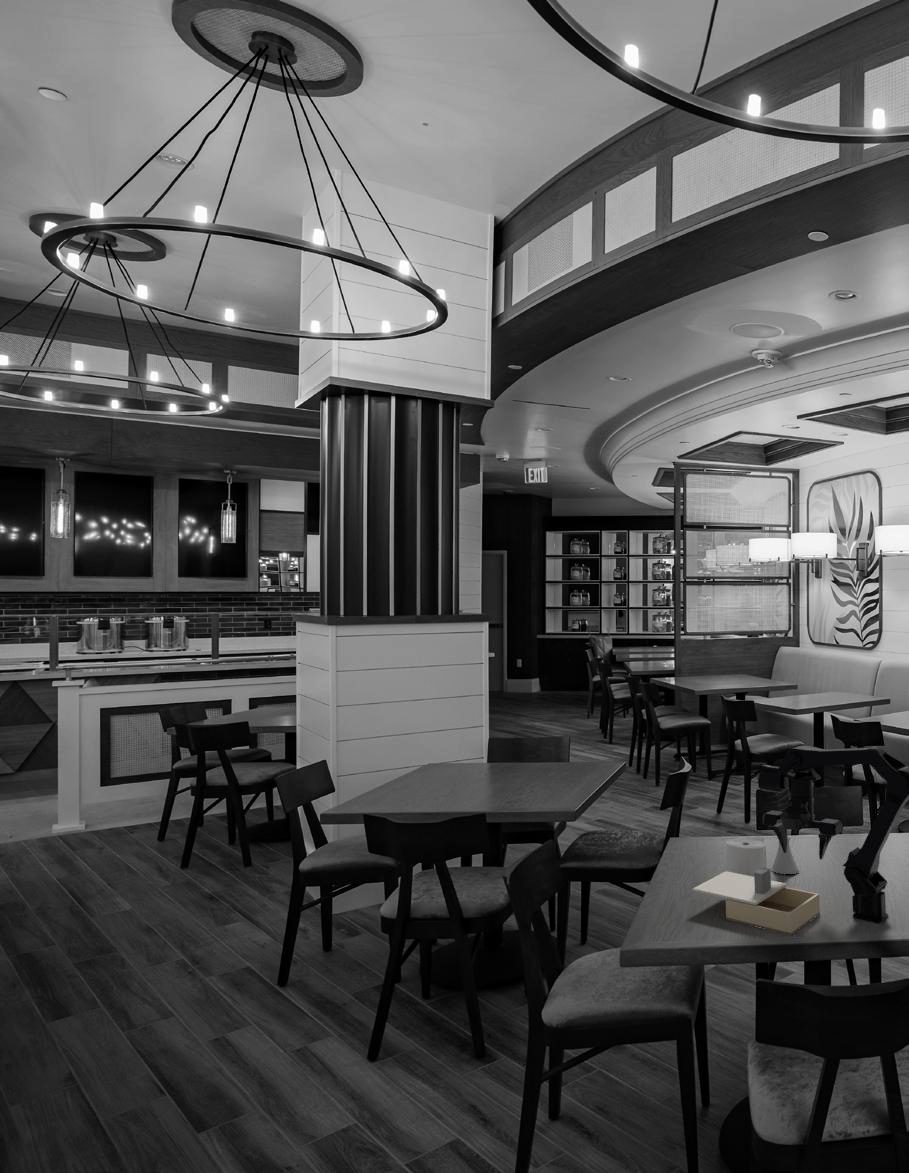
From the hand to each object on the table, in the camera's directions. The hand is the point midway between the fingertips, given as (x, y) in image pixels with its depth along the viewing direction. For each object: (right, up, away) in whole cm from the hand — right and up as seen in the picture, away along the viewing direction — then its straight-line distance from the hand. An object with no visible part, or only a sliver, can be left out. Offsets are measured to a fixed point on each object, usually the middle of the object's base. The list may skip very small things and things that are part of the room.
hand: (803, 855), depth 219 cm
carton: (-11, -12, -10) cm, 19 cm away
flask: (+5, -13, +25) cm, 29 cm away
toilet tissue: (-7, -13, +21) cm, 26 cm away
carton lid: (-18, -7, -4) cm, 19 cm away
